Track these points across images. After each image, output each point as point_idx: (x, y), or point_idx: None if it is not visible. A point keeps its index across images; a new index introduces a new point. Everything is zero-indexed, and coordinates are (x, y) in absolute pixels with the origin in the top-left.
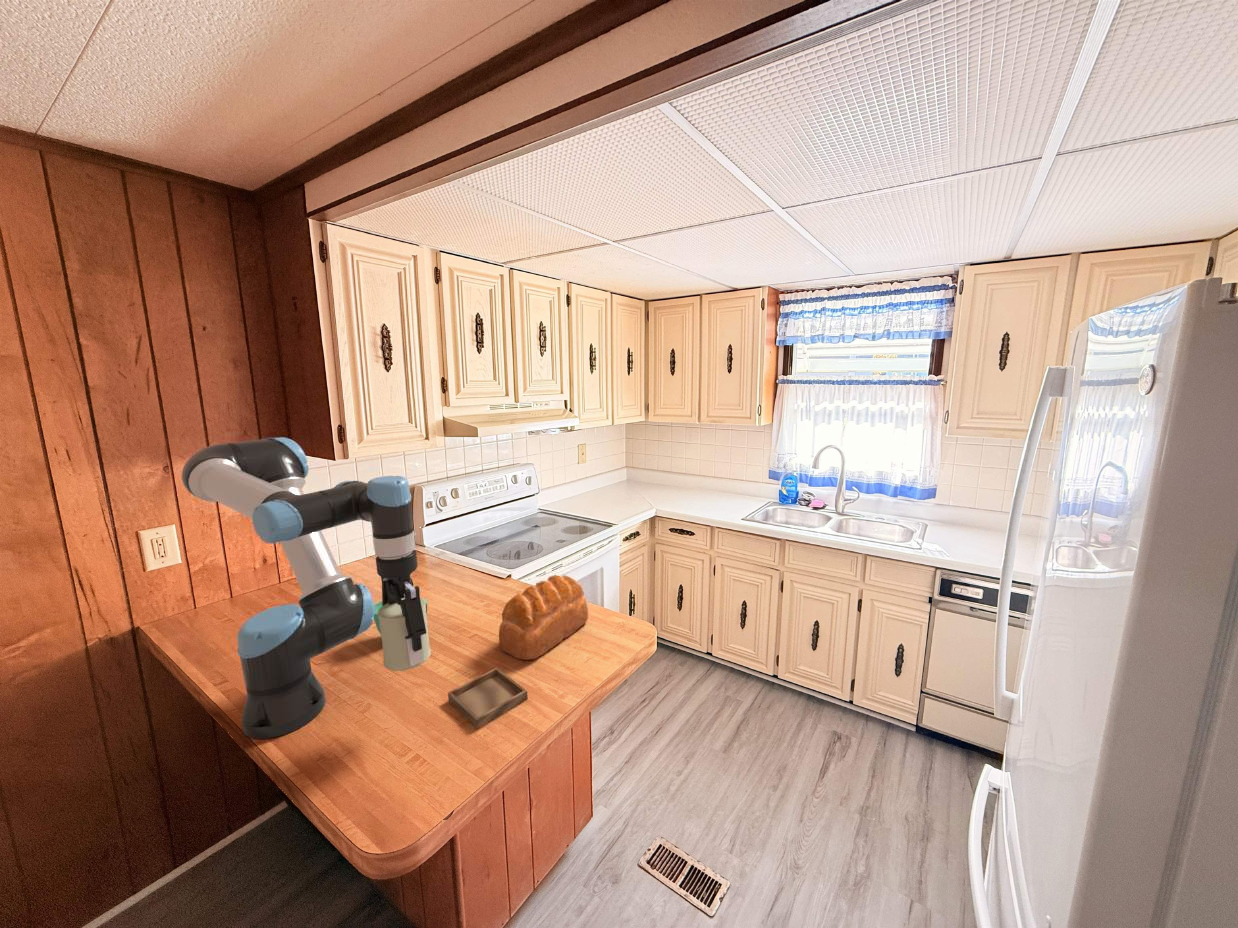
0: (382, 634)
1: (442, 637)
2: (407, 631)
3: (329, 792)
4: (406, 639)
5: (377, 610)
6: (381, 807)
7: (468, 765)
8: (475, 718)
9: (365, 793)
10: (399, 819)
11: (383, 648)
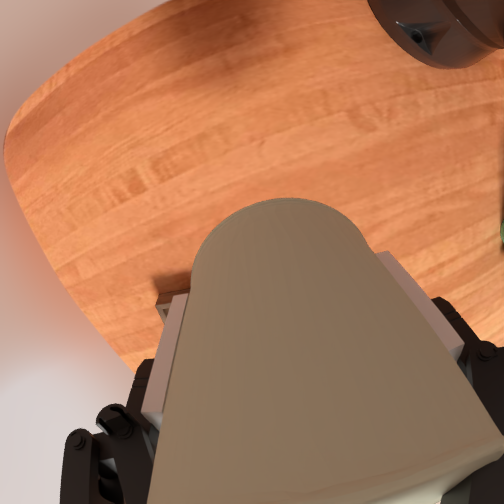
0: (286, 313)
1: (458, 296)
2: (145, 442)
3: (136, 40)
4: (110, 404)
5: None
6: (61, 126)
7: (86, 260)
8: (161, 304)
9: (98, 99)
10: (34, 153)
11: (286, 241)
